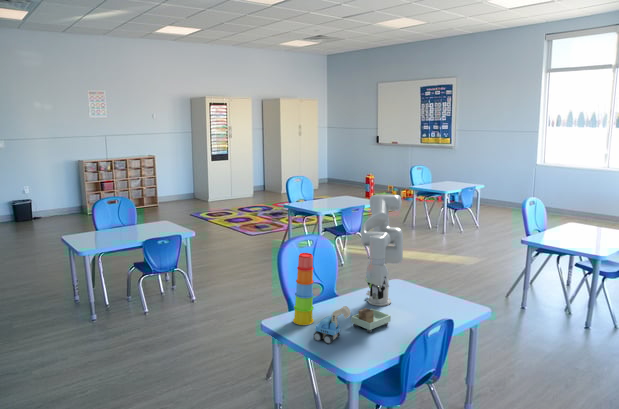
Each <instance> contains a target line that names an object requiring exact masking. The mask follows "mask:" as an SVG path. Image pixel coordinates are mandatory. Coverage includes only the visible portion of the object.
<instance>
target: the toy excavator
mask: <svg viewBox="0 0 619 409" xmlns="http://www.w3.org/2000/svg"><path fill="white" fill-rule="evenodd" d="M341 315H343V317H344V319H347V318H349V317H350V316H351V309H350V307H348V306H346V305H344V306H342V307H340V309H337V310H334V311H333V312H332V314H331V316H326V317H324V318H323V319H322V320H320V321H319V322H318V323H317V324H316V325H315V326H314V330H315V332H314V333H313V339H314V340H315V341H321V340H323V342H324V343H326V344H327V345H330V344H332V343H333V342H334V340H336V339H337V338H339V337H340V336H341V334H340V333H341V330H342V329H341V326H340V322H339V321H338V316H341Z"/></svg>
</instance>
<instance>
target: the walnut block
mask: <svg viewBox="0 0 619 409" xmlns="http://www.w3.org/2000/svg"><path fill="white" fill-rule="evenodd" d="M370 309H371V308H368V307H367V308H366V307H365V308H362V309H360V310H358V314H359V319H361V320H363V321H366V322H368V323H371V322H373V316H374V311H372V310H370Z"/></svg>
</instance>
